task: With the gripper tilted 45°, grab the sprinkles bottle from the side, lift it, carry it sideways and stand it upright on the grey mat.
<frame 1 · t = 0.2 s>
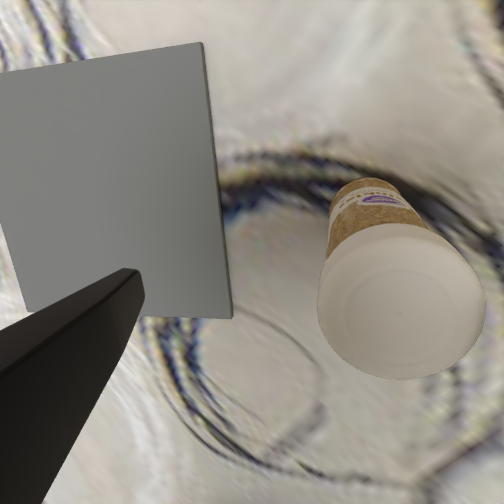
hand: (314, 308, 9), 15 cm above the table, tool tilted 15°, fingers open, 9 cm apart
sprinkles bottle: (364, 212, 23), on the table
mat: (101, 201, 26), on the table
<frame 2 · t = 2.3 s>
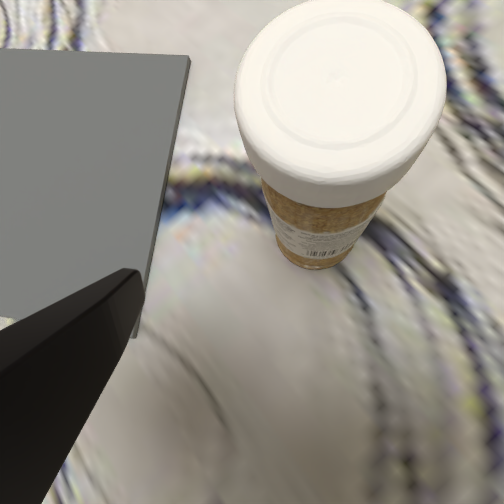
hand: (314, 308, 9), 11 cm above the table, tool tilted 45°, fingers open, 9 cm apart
sprinkles bottle: (314, 232, 21), on the table
mat: (35, 177, 24), on the table
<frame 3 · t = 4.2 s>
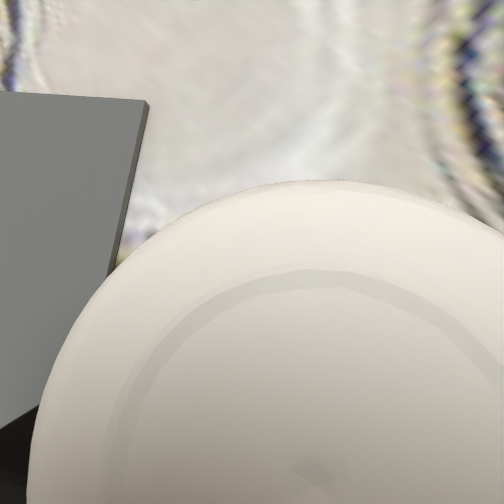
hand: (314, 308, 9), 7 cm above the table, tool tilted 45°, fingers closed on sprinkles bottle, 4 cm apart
sprinkles bottle: (304, 345, 16), on the table, touching gripper
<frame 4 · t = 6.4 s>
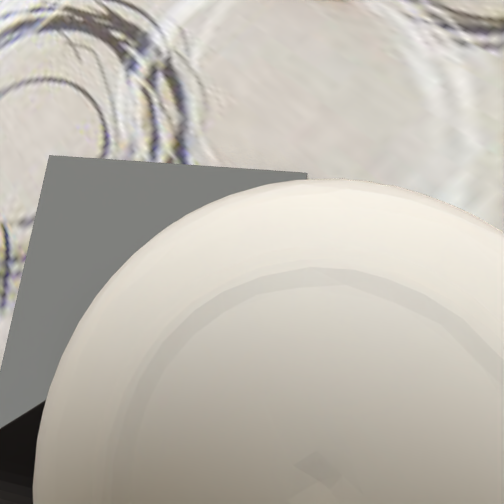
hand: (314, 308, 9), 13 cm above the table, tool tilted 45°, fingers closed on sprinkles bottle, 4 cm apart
sprinkles bottle: (305, 345, 16), point 6 cm above the table, touching gripper
mat: (150, 299, 23), on the table
when the fingers open (9 cm above the table, at t = 8.6 s): sprinkles bottle drops 1 cm, resting on mat.
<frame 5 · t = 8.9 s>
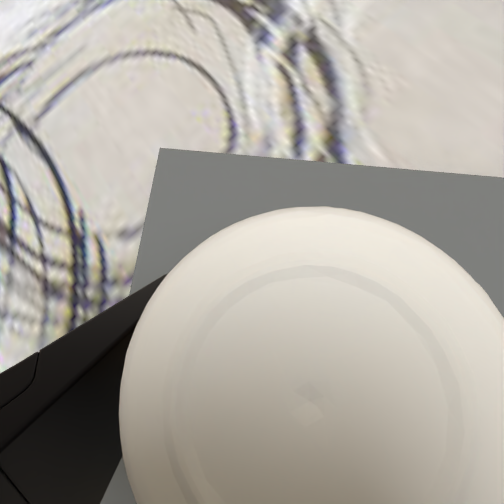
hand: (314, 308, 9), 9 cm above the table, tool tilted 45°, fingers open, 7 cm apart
sprinkles bottle: (305, 347, 17), resting on mat
mat: (304, 342, 17), on the table
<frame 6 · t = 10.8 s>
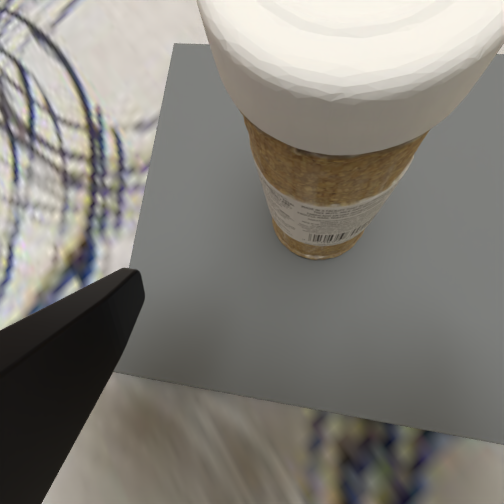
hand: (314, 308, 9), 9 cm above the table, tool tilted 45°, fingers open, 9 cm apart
sprinkles bottle: (317, 217, 18), resting on mat
mat: (315, 215, 18), on the table
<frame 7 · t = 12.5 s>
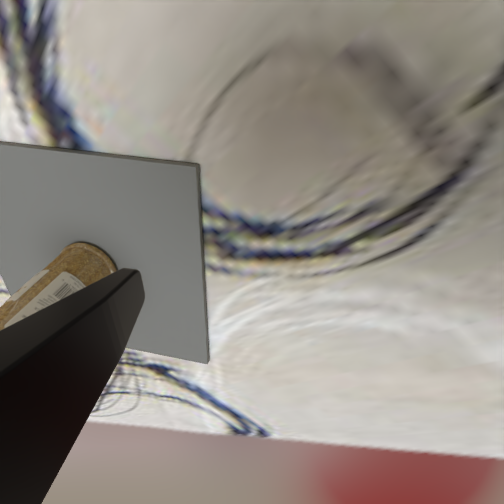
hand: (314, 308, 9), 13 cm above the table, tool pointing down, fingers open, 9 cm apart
sprinkles bottle: (93, 264, 28), resting on mat
mat: (94, 262, 28), on the table
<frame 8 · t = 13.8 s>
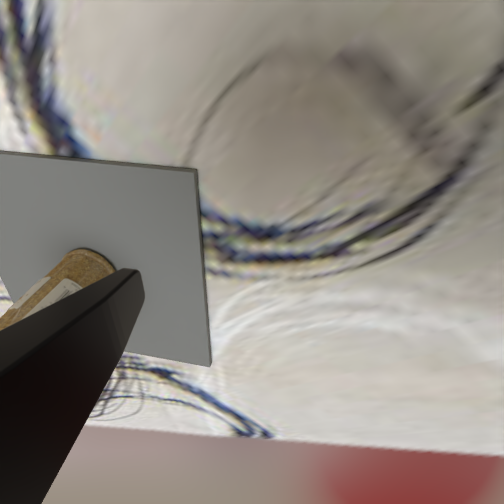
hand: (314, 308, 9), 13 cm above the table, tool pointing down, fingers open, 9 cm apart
sprinkles bottle: (94, 270, 28), resting on mat
mat: (95, 268, 28), on the table
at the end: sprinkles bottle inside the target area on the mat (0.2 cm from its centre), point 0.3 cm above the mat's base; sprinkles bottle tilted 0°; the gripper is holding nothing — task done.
